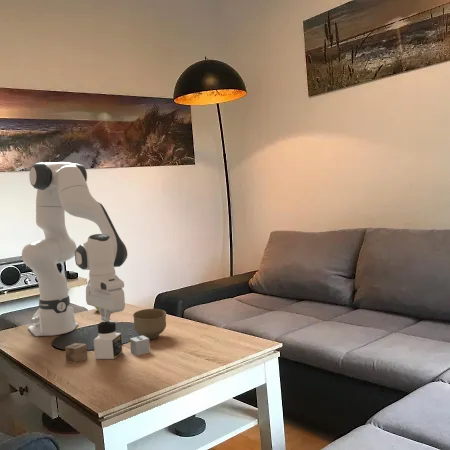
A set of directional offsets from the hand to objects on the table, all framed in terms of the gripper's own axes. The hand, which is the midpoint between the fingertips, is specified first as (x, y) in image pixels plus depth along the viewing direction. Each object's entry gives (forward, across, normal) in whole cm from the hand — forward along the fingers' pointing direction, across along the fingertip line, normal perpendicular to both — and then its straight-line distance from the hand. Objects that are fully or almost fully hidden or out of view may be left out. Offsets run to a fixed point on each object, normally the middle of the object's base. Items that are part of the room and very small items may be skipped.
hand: (105, 320), depth 171 cm
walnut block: (+13, -6, -9) cm, 16 cm away
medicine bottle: (+13, 0, 0) cm, 13 cm away
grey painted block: (+12, +6, +9) cm, 17 cm away
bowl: (+13, -4, +21) cm, 25 cm away
